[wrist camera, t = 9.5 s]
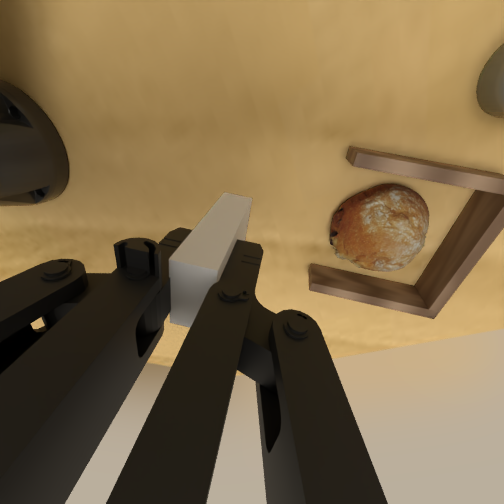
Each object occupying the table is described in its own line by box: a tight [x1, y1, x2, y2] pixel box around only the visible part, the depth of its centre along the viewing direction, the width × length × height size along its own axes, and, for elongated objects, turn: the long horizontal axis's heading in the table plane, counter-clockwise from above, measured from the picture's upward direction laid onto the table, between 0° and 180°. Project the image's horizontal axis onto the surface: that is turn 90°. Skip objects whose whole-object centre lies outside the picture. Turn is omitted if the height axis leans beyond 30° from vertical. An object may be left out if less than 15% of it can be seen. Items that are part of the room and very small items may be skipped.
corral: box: [308, 146, 504, 319], centre depth 28 cm, size 15×16×4 cm
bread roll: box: [330, 184, 429, 271], centre depth 28 cm, size 10×10×8 cm
